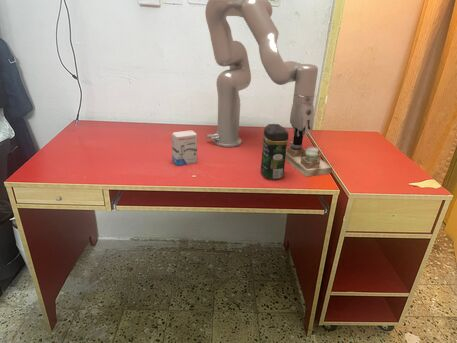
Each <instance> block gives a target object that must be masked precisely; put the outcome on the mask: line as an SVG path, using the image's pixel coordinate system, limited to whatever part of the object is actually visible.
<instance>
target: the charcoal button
mask: <svg viewBox="0 0 457 343" xmlns="http://www.w3.org/2000/svg"><path fill="white" fill-rule="evenodd" d="M290 145H291V148H292V149H293V150H294V151H295V150H301V148H302V149H303V144H302V145H294V144H293V143H291V144H290Z"/></svg>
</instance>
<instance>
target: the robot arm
mask: <svg viewBox="0 0 457 343" xmlns="http://www.w3.org/2000/svg"><path fill="white" fill-rule="evenodd" d="M204 14H205V20H206V24H207V26H208V31H209V36H210V37H209V38H210V42H211V46H212V50H213V56H214V59H215V60H214V61H215V62H216V64H217V65H218V66H220V67H223V68H224V67H229V69H226V70H223V71H222V72H220V74H219V75H218V76H217V78H216V90H217V124H216V125H217V130H216V131H214V132H213V133H212V134H211V133H209V134H206V136H205V137H206V140H209V139H210V140H211V141H213V143H214V144H215V145H217V146H219V147H225V148H232V147H233V148H234V147H238V146H240V145H242V141H243V140H242V139H241V138H240V137H239V131H240V117H241V116H240V115H241V98H240V93H239V92H240V91H242V90H245V89H247V88H248V87H249V86H250V84H251V81H252V73H251V68H250V62H249V57H248V51H247V49H246V47H245V45H244V44H243V43H242V42H241V41H238V40H234V39H233V34H232V30H231V26H230V24H229V22H228V20H227V17H238V18H239V17H240V18H243V19H244V21H245V23H246V25H247V27H248V29H249V30H250V32H251V34H252V36H253V38H254V39H255V41H256V43H257V45H258V51H259V52H258V53H259V56H260V58H259V59H260V61H261V64H262V66H263V68H264V70H265V72H266V74H267V75H268V78H269V79H270V80H271V81H272V82H273V83H275V84H276V85H277V86H278V85H279V86H281V85H282V86H283V85H286V84H288V83H292V82H294V89H293V97H292V98H293V100H292V104H291V105H292V106H291V110H290V116H289V123H290V125H291V127H292V128H293V139H292V141H293V144H294V145H302V146H303V139H304V136H305V135H309V131H311V130H312V129H313V125H314V114H315V113H314V112H315V111H314V110H315V109H314V99H315V94H316V88H317V87H316V86H317V79H318V71H319V68H318V66H317V65H315V64H311V63H300V62H297V61H292V60H287V61H284V60H283V58H282V57H281V55H280V54H281V53H280V51H279V49H278V43H277V42H278V40H279V39H278V38H279V34H280V33H279V30H278V28H277V26H276V25H275V23H274V22H273V20H272V15H273V6H272V4H271V2H270V1H269V0H207V2H206V6H205V12H204Z"/></svg>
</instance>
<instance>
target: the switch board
mask: <svg viewBox="0 0 457 343" xmlns="http://www.w3.org/2000/svg"><path fill="white" fill-rule="evenodd" d="M306 151H307V148H306V149H304V148H303V147H302V148H301V150H295V151H294V150H293V149H292V148H291V146H290V145H289V146H287V147H286V156H285V162H288V163H289V164H290V165H291V166H292V167H293V168H294V169H296V170H297V171H298V172H299V173H300V174H301V175H303V176H304V178H306V177H313V176H321V175H329V174H332V170H333V167H332V165H330V164H328V163H327V162H326V161H324V160H323V159H321V158H322V157H321V156H322V154H321V153H319V152H318V155H317V157H316V161H312V162H308V161H307V160H306V159H305V158H306V155H305V153H306Z"/></svg>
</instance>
